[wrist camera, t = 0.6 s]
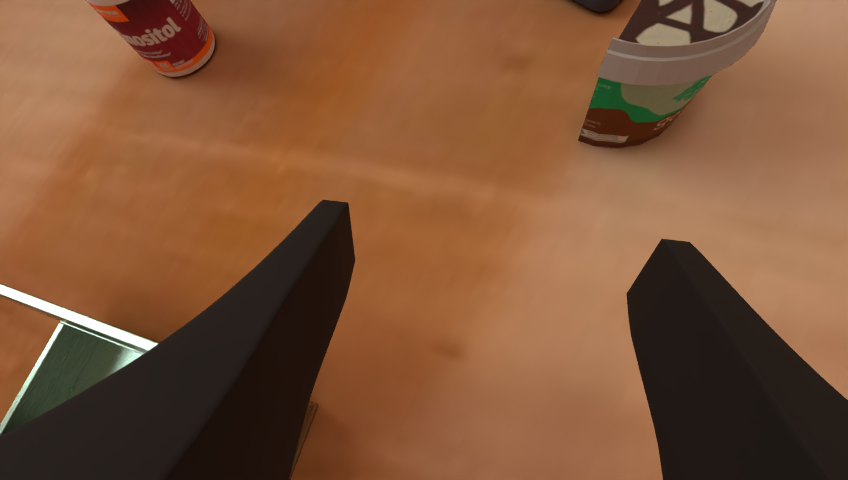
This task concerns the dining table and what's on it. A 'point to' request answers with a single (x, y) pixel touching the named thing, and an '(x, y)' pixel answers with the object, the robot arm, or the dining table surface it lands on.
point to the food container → (667, 64)
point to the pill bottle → (161, 32)
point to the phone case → (599, 4)
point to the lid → (78, 320)
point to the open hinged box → (80, 376)
